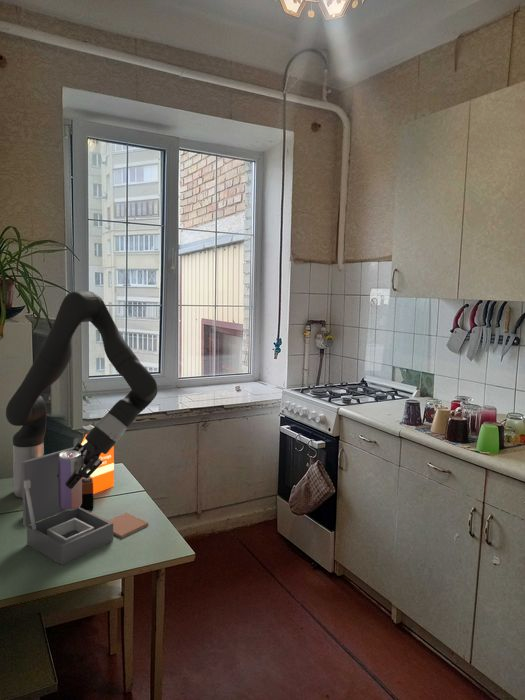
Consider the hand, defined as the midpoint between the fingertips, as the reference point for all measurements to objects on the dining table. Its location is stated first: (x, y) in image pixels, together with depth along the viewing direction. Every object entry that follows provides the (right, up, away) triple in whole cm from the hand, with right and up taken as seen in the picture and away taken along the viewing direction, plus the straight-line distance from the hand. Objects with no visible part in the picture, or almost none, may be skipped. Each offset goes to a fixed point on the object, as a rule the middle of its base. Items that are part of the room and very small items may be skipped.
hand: (63, 482), depth 136 cm
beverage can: (+1, -7, +2) cm, 8 cm away
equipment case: (+1, -17, +3) cm, 18 cm away
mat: (+13, -16, +13) cm, 25 cm away
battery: (-4, -15, +23) cm, 28 cm away
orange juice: (-4, -12, +40) cm, 42 cm away
